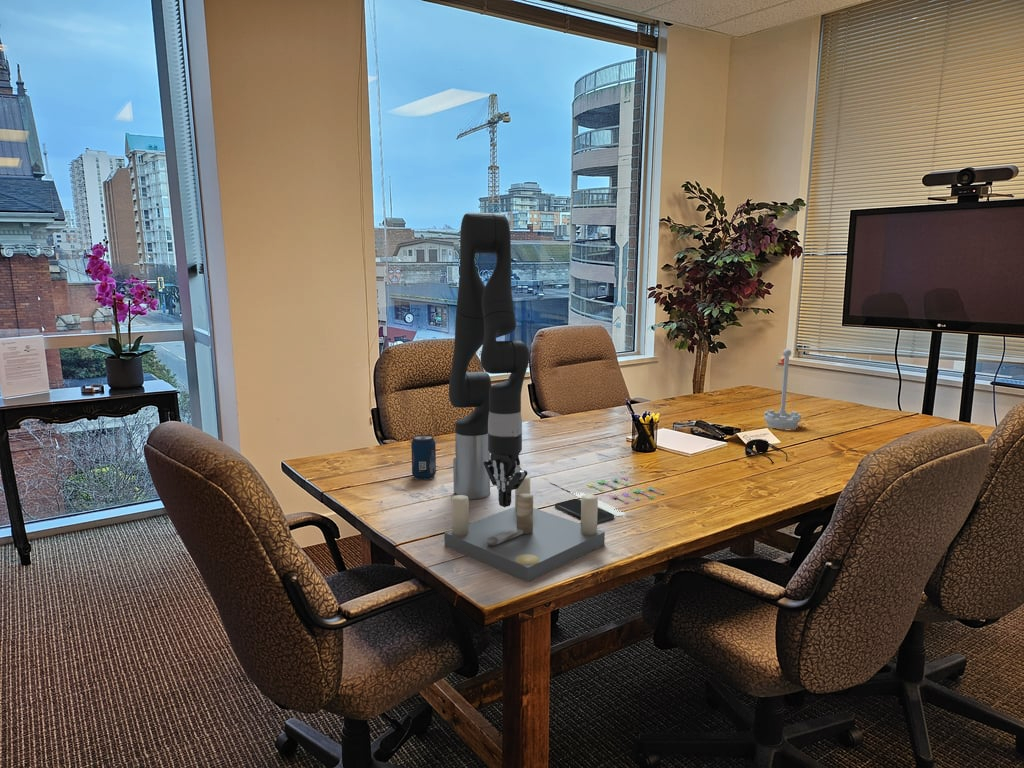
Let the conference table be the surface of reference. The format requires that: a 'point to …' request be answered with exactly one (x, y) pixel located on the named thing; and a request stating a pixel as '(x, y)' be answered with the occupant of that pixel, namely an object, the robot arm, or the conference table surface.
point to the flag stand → (783, 404)
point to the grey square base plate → (525, 537)
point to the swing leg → (518, 520)
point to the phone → (574, 510)
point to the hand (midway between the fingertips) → (504, 505)
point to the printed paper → (610, 508)
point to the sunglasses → (760, 447)
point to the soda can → (423, 457)
